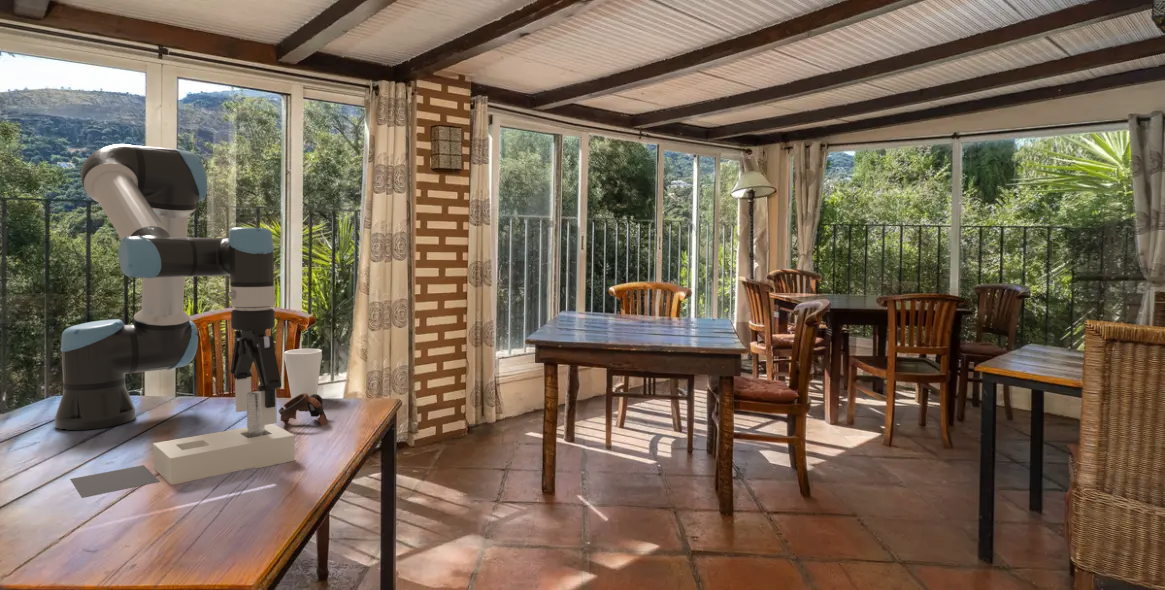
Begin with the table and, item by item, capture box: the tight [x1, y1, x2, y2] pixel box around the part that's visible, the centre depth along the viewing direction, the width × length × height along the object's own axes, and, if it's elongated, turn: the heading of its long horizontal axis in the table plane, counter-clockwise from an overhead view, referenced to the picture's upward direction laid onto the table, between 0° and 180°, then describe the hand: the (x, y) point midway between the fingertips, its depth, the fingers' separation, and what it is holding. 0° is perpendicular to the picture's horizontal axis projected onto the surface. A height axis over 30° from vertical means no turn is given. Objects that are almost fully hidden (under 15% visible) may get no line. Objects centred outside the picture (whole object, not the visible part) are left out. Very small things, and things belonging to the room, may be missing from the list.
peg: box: [246, 390, 265, 438], centre depth 130 cm, size 3×3×13 cm
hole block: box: [152, 423, 296, 486], centre depth 127 cm, size 12×21×5 cm, turn 135°
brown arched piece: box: [278, 393, 328, 427], centre depth 157 cm, size 12×10×8 cm
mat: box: [69, 464, 161, 499], centre depth 117 cm, size 12×11×1 cm
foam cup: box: [283, 348, 323, 400], centre depth 181 cm, size 10×9×13 cm
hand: (255, 417), depth 130 cm, fingers open, 13 cm apart
